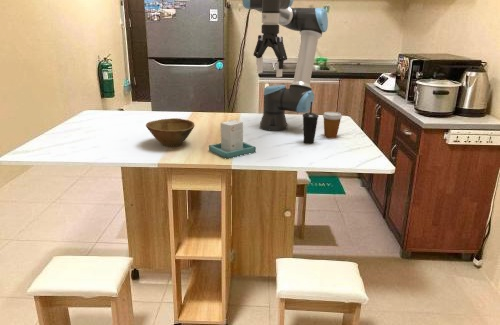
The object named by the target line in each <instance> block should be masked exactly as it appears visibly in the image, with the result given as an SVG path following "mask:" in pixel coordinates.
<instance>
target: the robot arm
mask: <svg viewBox="0 0 500 325" xmlns="http://www.w3.org/2000/svg"><path fill="white" fill-rule="evenodd" d="M241 2H242V5H243V7H244V9H246V10H247V9H248V10H255V11H258V12H259V13H261V23H262V24H261V31H260V33H261V34H258V36H257V42H256V45H255V48H254V51H253V54H252V55H253V57H255V58H256V73H257V74H263V72H264V69H263V68H264V66H263V65H264V57H263V55H264V54H265V52H266V50H267V48H271V49H272V50H273V53H274V55H275V56H276V59H277V61H276V68H275V69H276V75H275V77H276V78H281V77H283V69H284V62H285V61H287V60H288V56H287V52H286V49H285V45H284V40H283V39H284V38H283V36H278V34H280V26H282V27H283V28H286V29H289V30H291V31H296V32H299V35H300V36H301V39H300V43H299V48H298V49H299V50H298V55H297V61H296V66H295V70H294V77H293V82H292V83H290V84H289V86H288V87H289V88H288V87H287V86H286V85H285V84H273V85H268V86H267V85H266V86H265V88H264V90H263V113H262V117H261V119H260V120H261V121H260V122H259V129H261V130H265V131H268V132H269V131H271V132H272V131H273V132H279V131H280V132H281V131H284V130H285V131H286V130H287V129H288V122H287V119H286V118H287V117H286V113H285V112H293V113H299V114H300V113H302V114H305V113H309V112H310V107H311V102H312V106H313V105H314V101H315V93H314V91H313V88H312V86H311V85H310V84H311V78H312V73H313V69H314V68H313V67H314V63H315V58H316V52H317V46H318V43H319V42H318V41H319V39H320V38H322V36H323V33H326V32H327V30H328V27H329V19H328V18H329V17H328V13H327V10H326V9H324V8H322V7H292V6H293V4H294V0H241Z"/></svg>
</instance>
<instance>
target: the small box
mask: <svg viewBox="0 0 500 325" xmlns="http://www.w3.org/2000/svg"><path fill="white" fill-rule="evenodd" d="M243 139H244V122H242V121H241V120H240V121H239V120H235V119H233V120H232V119H231V120H227V121H224V122H220V143H221V150H223V151H225V152H232V151H236V150H241V149H243V142H244V140H243Z"/></svg>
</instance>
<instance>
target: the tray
mask: <svg viewBox="0 0 500 325" xmlns="http://www.w3.org/2000/svg"><path fill="white" fill-rule="evenodd" d="M208 152H211V153H213V154H214V153H215V154H214V155H216V154H217V156H219V157H221V158H223V159H225V158H226V159H225V160H229V158H230V159H234V158H237V156H239V157H241V156H240V155H243V156H245V155H244V154H247V155H250V154H249V153H251V154H255V153H256V152H257V146H255V145H252V144H250V143H247V142H245V141H243V149H241V150H236V151H232V152H225V151H223V150H221V142H220V143H214V144H210V145H208ZM254 152H255V153H254ZM233 157H234V158H233Z"/></svg>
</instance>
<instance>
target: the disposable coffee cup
mask: <svg viewBox="0 0 500 325" xmlns="http://www.w3.org/2000/svg"><path fill="white" fill-rule="evenodd" d="M322 117H323V132H324V134H323V135H324V137H325V138H328V139H335V138H338V133H339V128H340V124H341V119H342V117H343V116H342V113H340V112H337V111H326V112H325V111H324V113H323V114H322Z"/></svg>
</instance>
